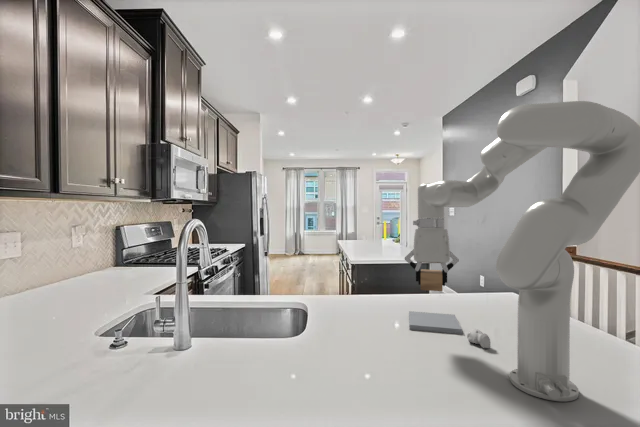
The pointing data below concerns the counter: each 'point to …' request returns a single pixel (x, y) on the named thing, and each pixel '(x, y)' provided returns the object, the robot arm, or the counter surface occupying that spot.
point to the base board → (434, 322)
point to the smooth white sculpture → (479, 338)
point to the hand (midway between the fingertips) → (431, 283)
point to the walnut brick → (431, 280)
